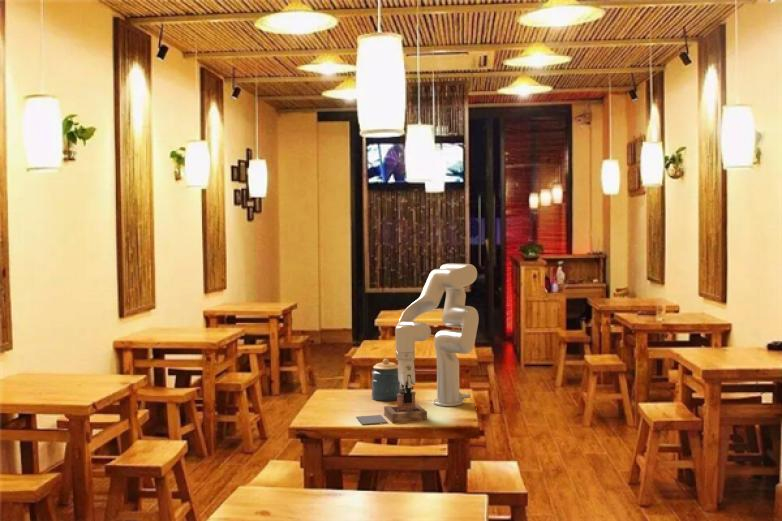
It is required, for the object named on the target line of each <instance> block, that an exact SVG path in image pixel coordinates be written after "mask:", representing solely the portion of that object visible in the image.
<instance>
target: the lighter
mask: <svg viewBox="0 0 782 521" xmlns="http://www.w3.org/2000/svg"><path fill="white" fill-rule="evenodd" d="M406 388H407V387H406ZM413 390H414V385H412V402H411V403H404V387H403V388H401V387H400V393H398V394H397V400H396V401H397V405H398V410H397V412H411V411H416V408H415V404H416V391H413Z"/></svg>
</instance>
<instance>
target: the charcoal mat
mask: <svg viewBox="0 0 782 521" xmlns="http://www.w3.org/2000/svg"><path fill="white" fill-rule="evenodd" d="M356 418H357V419H358V420H357V421H358V422H359V423H360V424H361V425H362V426H365V425H364V424H373V425H381V424H380V423H387V424H388V421H387V420H386V419H385V418H384V417H383V415H381V414H375V415H373V414H372V415H362V416H360V415H359V416H356V417H355V419H356Z"/></svg>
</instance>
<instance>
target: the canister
mask: <svg viewBox="0 0 782 521" xmlns="http://www.w3.org/2000/svg"><path fill="white" fill-rule="evenodd" d="M372 368H373V370H372V371H371V374H372V378H371V398H372V400H373V401H380V402H391V401H397V394H398V393H400V388H401V383H400V382H399V380H398V364H396V363H395V362H391V361H389V359H388V358H383V360H382V362H377V363H376V364H375V365H373V366H372Z"/></svg>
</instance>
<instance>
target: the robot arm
mask: <svg viewBox="0 0 782 521" xmlns="http://www.w3.org/2000/svg"><path fill="white" fill-rule="evenodd" d="M477 277H478V271H477V268H476V266H474V265H473V264H470V263H457V262H456V263H453V262H452V263H451V262H450V263H444V264H442V265H440V268H434V269H433V270H431V271H430V273H429V274H428V277H427V279H426V282H425V283H424V285H423V289H422V291H421V293H420V296H419V297H418V298H417V299H416V300H415V301H413V302H412V303H411V304H410V305H408V306H407V307H406V308H405V309H404V310H403V312H402V313H401V315H400V317H399V320H398V323H397V325H396V326H395V330H394V332H395V361H397V365H398V380H399V382H400V388H403V387H404V403H411V402H412V392H413V390H412V386H415V385H416V372H415V362H414V361H415V359H416V355H415V354H416V353H415V350H416V349H415V342H425V341H426V340H428V339H429V338H430V337H431V334H432V328H431V327H430V325H429V324H427V323H426V322H425V323H424V322H419V321H414V320H416V318H418V317H419V316H421V315H423V314H425V313H427V312H430V311H433V310H435V309H436V308H438V307H439V304H440V303H441V300H442V298H443V296H444V293H445V301H444V304H443V305H444V306H443V311H442V317H441V320H442V323H443V325H445V326H446V327H449V328H457V329H461V330H455V329H441V330H439V331H437V332H436V333H435V335H434V339H433V343H434V349H435V355H436V398H434V400H433V404H434V405H435V406H439V407H457V406H462V405H463V404H464V399H470V398H471V394H470V393H462V392H461V391H460V361H459V358H458V356H457V354H460V355H467V354H470V353H471V352H472V351H473V350H474V347H475V344H476V343H475V342H476V339H477V331H478V325H479V313H478V310H477V309H476V308H475V307H474V306H470V305H466V298H467V294H466V291H465V289H464V288H465V287H467V286H470V285H472V284H473V283H474V282H475V281H476V280H477ZM406 387H407V388H406Z"/></svg>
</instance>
